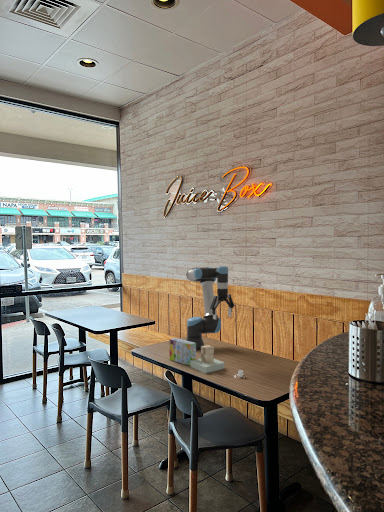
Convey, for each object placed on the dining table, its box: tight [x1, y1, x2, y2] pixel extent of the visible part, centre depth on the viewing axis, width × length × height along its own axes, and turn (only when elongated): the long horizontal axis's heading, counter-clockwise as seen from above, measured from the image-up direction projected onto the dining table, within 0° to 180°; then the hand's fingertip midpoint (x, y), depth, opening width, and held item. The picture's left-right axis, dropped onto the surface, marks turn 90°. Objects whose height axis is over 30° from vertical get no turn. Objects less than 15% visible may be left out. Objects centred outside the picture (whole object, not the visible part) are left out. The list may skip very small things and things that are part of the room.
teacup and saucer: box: [233, 369, 245, 379], centre depth 244 cm, size 9×8×4 cm
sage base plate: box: [190, 358, 225, 374], centre depth 261 cm, size 16×16×4 cm
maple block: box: [200, 344, 215, 364], centre depth 261 cm, size 6×6×10 cm
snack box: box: [169, 337, 197, 367], centre depth 272 cm, size 21×6×15 cm, turn 47°
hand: (222, 317), depth 280 cm, fingers open, 13 cm apart
